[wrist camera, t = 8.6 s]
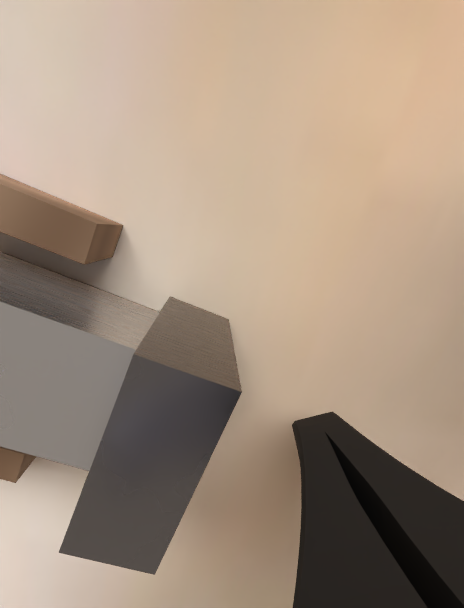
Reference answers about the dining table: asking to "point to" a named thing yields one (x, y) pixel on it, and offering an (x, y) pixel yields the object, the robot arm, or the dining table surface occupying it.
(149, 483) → the grey t-shaped block
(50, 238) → the rail channel
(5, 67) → the dining table surface
